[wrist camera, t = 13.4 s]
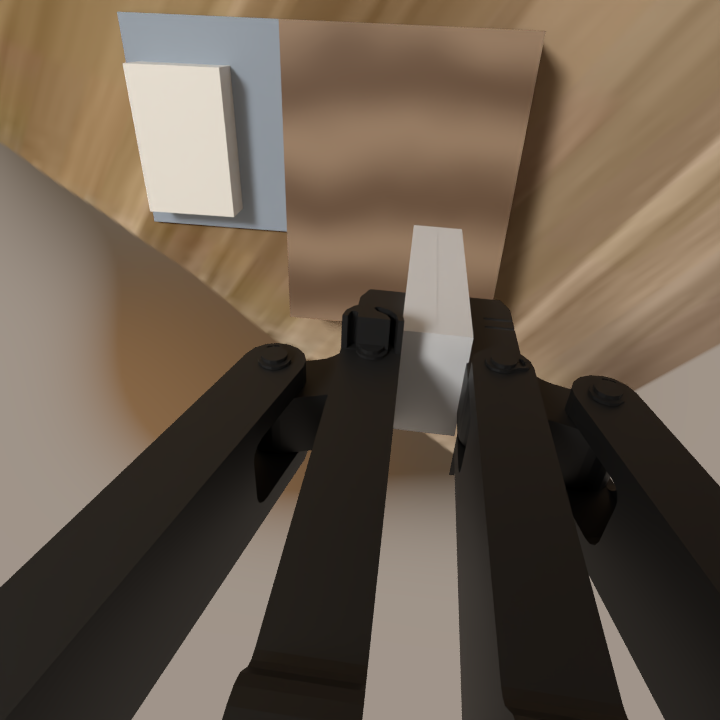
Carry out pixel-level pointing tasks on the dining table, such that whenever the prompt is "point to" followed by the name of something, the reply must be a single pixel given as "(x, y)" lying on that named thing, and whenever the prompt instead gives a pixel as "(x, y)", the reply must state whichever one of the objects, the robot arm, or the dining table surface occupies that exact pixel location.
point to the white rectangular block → (186, 136)
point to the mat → (250, 98)
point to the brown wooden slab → (397, 150)
